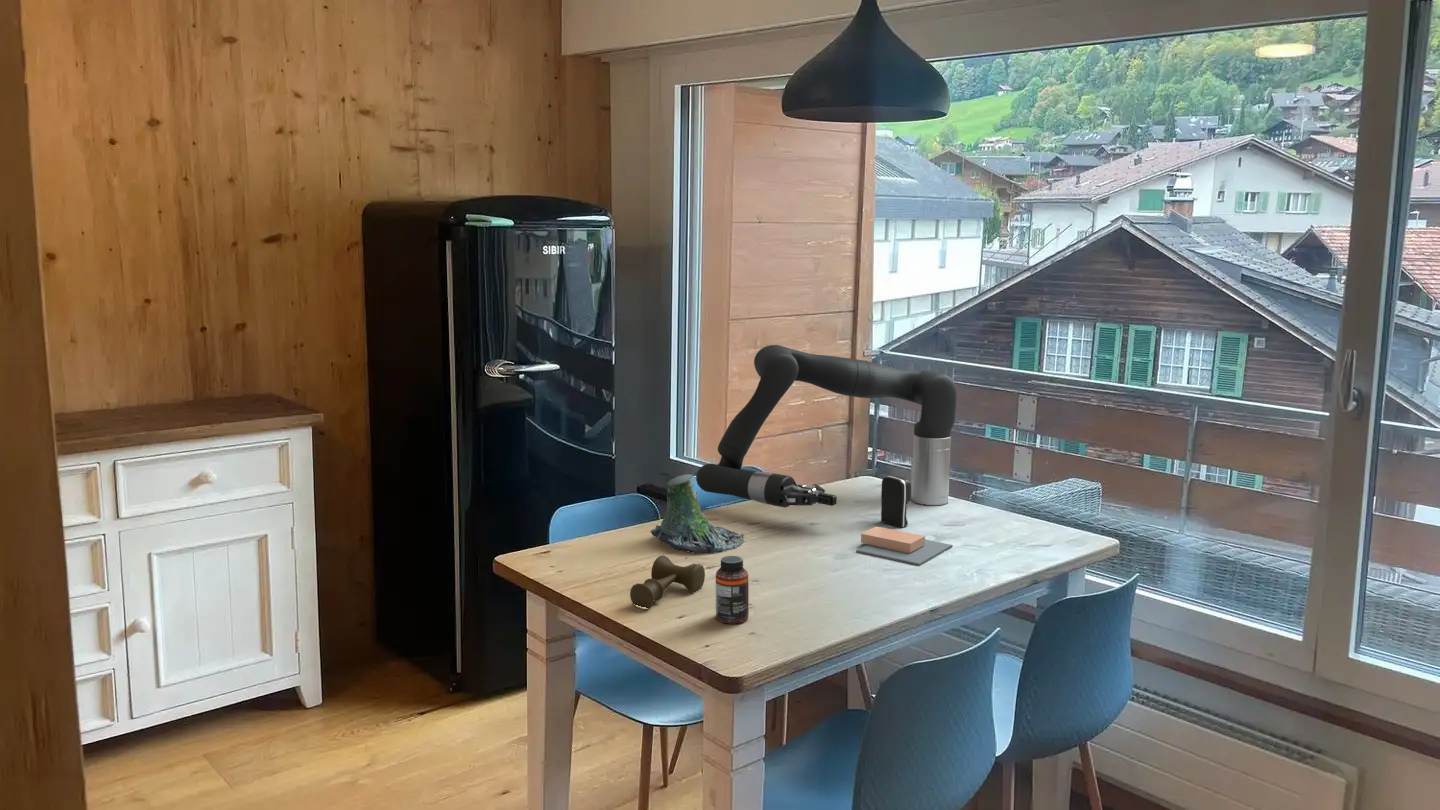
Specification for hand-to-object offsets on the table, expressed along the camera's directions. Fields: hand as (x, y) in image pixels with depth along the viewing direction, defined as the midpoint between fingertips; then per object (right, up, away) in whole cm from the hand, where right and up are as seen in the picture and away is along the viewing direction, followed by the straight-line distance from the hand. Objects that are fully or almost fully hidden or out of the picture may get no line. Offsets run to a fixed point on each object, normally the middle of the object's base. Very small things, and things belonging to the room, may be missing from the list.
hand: (835, 500), depth 239 cm
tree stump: (-31, -9, -4) cm, 33 cm away
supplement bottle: (-24, -17, -49) cm, 57 cm away
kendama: (-36, -15, -36) cm, 53 cm away
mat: (+14, -10, -9) cm, 20 cm away
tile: (+7, -7, -4) cm, 11 cm away
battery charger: (+16, -7, +10) cm, 20 cm away
